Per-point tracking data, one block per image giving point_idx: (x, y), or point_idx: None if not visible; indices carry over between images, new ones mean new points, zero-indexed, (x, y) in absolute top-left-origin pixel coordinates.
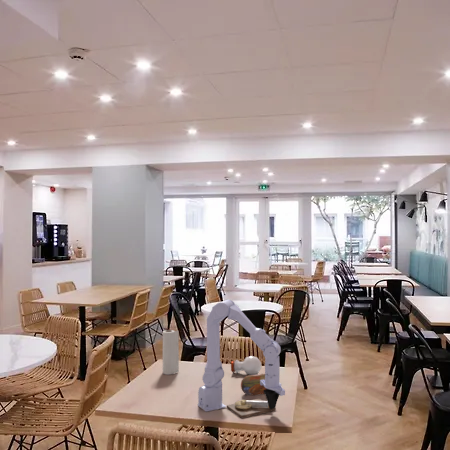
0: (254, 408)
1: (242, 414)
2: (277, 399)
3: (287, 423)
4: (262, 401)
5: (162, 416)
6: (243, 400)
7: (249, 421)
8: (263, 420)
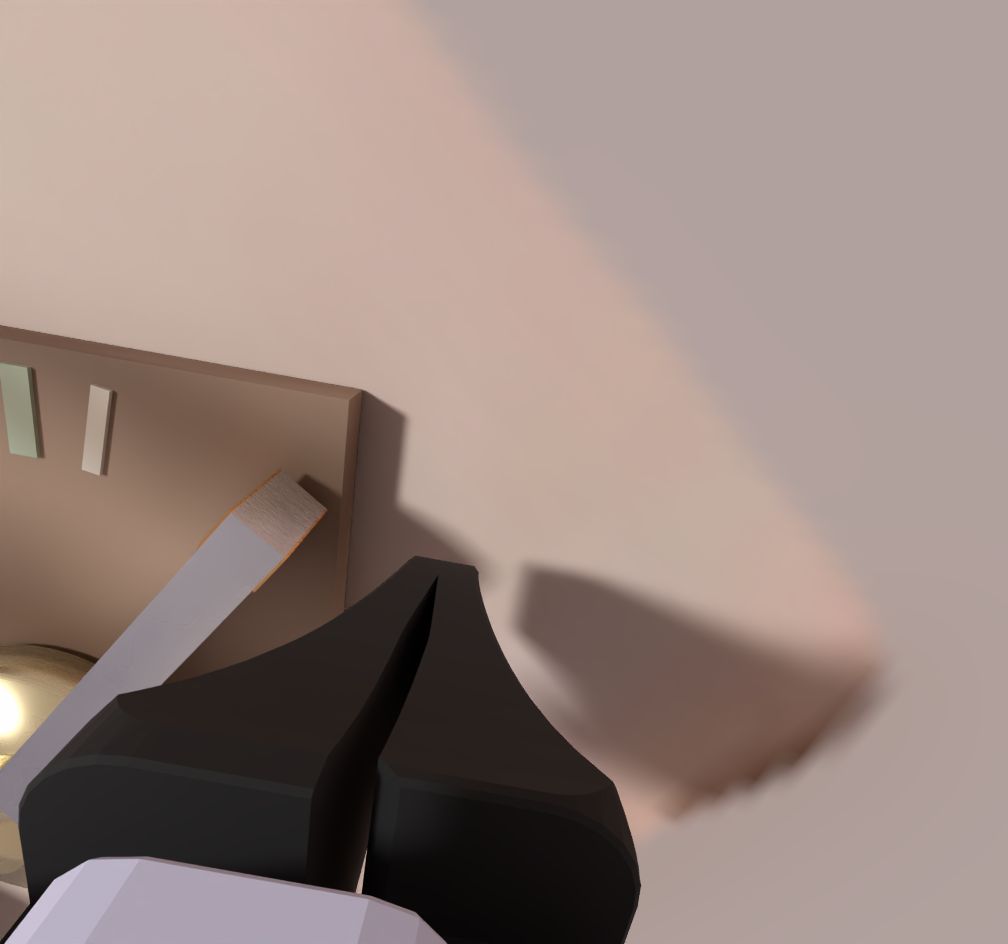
0: (180, 674)
1: None
2: (512, 672)
3: (856, 614)
4: (154, 641)
5: None
6: None
7: None
8: None
